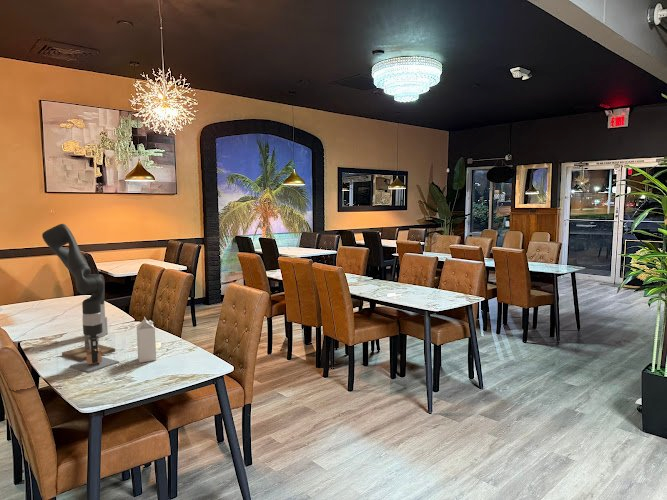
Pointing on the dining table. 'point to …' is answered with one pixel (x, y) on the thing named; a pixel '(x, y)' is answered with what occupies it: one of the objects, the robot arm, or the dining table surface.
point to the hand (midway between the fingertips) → (94, 360)
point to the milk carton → (146, 341)
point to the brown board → (81, 352)
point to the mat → (94, 365)
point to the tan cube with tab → (89, 356)
